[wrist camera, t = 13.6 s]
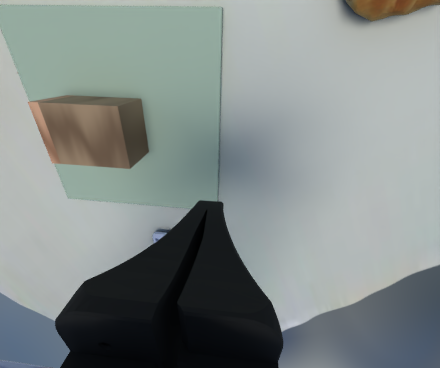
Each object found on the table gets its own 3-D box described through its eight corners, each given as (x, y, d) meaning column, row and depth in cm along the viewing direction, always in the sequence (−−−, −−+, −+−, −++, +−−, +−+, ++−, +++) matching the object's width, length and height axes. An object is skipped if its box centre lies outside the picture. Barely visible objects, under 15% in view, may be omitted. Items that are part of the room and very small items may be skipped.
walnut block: (130, 168, 18) (52, 163, 18) (149, 151, 21) (83, 147, 22) (117, 106, 15) (27, 101, 16) (141, 98, 19) (67, 95, 19)
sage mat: (217, 207, 24) (217, 210, 24) (71, 195, 26) (68, 198, 25) (222, 8, 15) (221, 6, 15) (-2, 6, 17) (-9, 4, 16)
